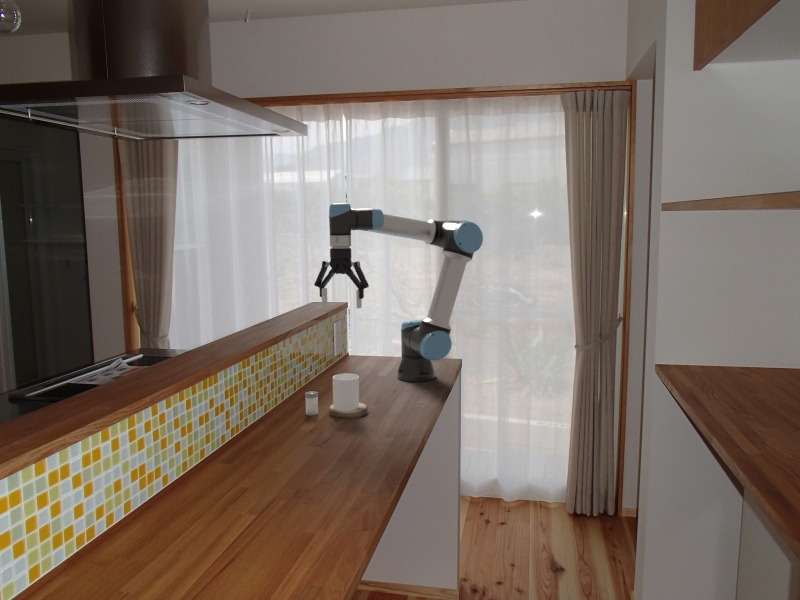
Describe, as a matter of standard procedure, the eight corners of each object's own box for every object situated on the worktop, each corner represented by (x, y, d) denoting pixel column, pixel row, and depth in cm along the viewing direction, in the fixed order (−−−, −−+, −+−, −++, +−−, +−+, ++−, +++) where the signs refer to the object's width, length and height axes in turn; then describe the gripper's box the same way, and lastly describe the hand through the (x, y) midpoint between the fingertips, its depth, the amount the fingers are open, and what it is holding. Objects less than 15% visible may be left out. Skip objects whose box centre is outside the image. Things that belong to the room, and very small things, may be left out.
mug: (366, 402, 223) (366, 372, 222) (353, 413, 212) (352, 381, 210) (343, 400, 226) (342, 370, 224) (329, 410, 215) (328, 379, 213)
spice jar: (309, 410, 221) (308, 390, 220) (320, 412, 220) (320, 392, 219) (303, 414, 217) (302, 394, 216) (314, 415, 216) (314, 395, 215)
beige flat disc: (339, 405, 227) (339, 399, 227) (373, 408, 223) (373, 403, 223) (321, 416, 215) (321, 410, 215) (358, 420, 211) (357, 414, 211)
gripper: (304, 247, 232) (305, 306, 235) (368, 248, 223) (369, 310, 226) (314, 246, 239) (315, 303, 242) (377, 247, 230) (378, 307, 233)
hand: (341, 307), depth 234 cm, fingers open, 13 cm apart
